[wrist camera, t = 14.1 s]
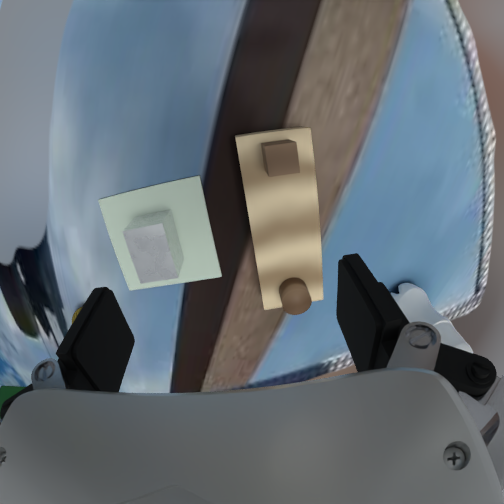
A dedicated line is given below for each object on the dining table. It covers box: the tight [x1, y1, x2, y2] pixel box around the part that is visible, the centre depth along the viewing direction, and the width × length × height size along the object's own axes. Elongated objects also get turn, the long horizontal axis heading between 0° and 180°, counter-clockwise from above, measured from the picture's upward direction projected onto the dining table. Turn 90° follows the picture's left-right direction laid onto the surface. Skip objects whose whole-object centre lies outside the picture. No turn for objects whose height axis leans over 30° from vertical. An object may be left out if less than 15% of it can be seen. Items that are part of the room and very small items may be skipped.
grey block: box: [122, 209, 184, 284], centre depth 35 cm, size 7×5×5 cm
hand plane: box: [235, 127, 323, 315], centre depth 33 cm, size 22×8×8 cm, turn 9°
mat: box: [98, 175, 222, 290], centre depth 37 cm, size 14×14×1 cm
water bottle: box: [390, 283, 473, 353], centre depth 33 cm, size 7×7×25 cm
